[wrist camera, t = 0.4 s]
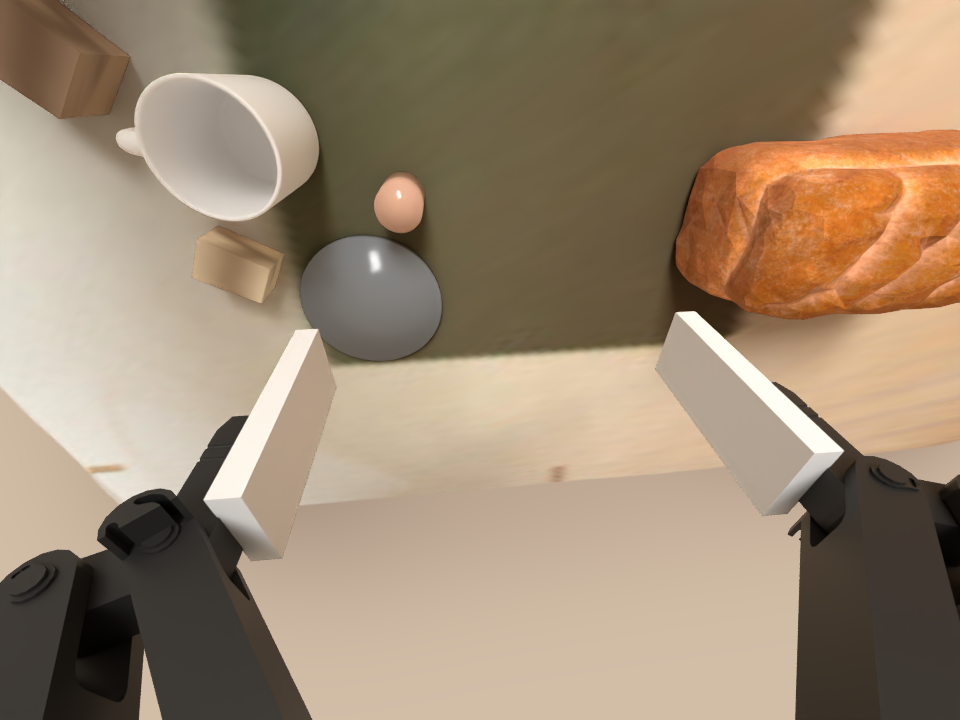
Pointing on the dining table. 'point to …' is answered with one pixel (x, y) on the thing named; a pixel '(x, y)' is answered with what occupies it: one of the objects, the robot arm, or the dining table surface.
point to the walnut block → (58, 59)
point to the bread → (828, 225)
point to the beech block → (236, 264)
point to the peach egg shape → (400, 202)
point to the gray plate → (371, 297)
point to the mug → (223, 142)
